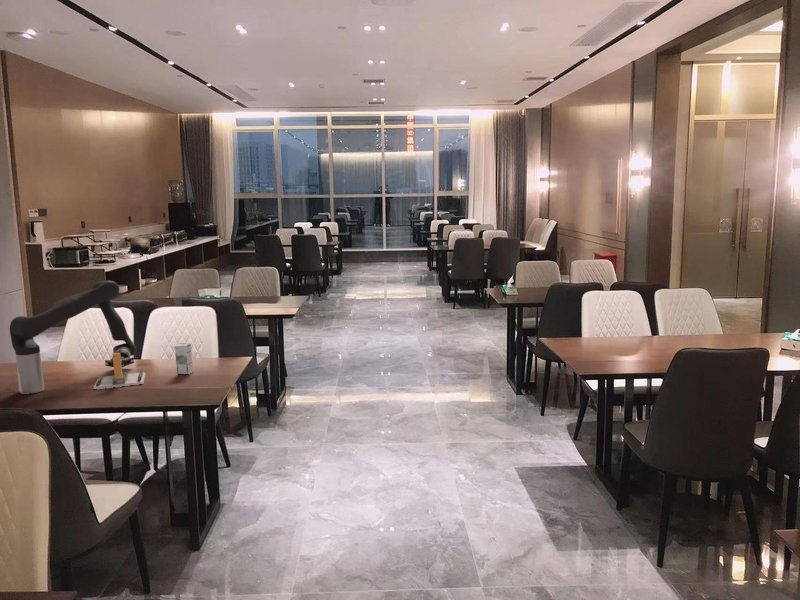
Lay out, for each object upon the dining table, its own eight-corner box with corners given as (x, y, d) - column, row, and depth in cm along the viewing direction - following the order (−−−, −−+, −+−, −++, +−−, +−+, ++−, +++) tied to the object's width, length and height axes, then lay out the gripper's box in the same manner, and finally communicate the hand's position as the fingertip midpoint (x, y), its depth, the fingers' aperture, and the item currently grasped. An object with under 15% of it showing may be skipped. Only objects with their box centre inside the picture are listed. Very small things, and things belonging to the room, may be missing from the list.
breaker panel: (93, 389, 278) (93, 384, 277) (99, 379, 295) (98, 374, 294) (142, 384, 284) (142, 378, 284) (145, 374, 301) (144, 369, 300)
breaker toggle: (112, 381, 282) (109, 354, 280) (113, 379, 285) (110, 353, 283) (124, 379, 283) (122, 353, 281) (125, 378, 286) (123, 352, 284)
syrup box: (193, 371, 303) (191, 342, 301) (188, 375, 297) (185, 345, 295) (182, 372, 304) (179, 342, 301) (176, 375, 298) (174, 345, 296)
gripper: (105, 351, 298) (100, 359, 281) (135, 348, 302) (132, 356, 285) (107, 366, 299) (102, 375, 282) (137, 363, 303) (134, 372, 287)
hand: (117, 366), depth 284 cm, fingers closed
